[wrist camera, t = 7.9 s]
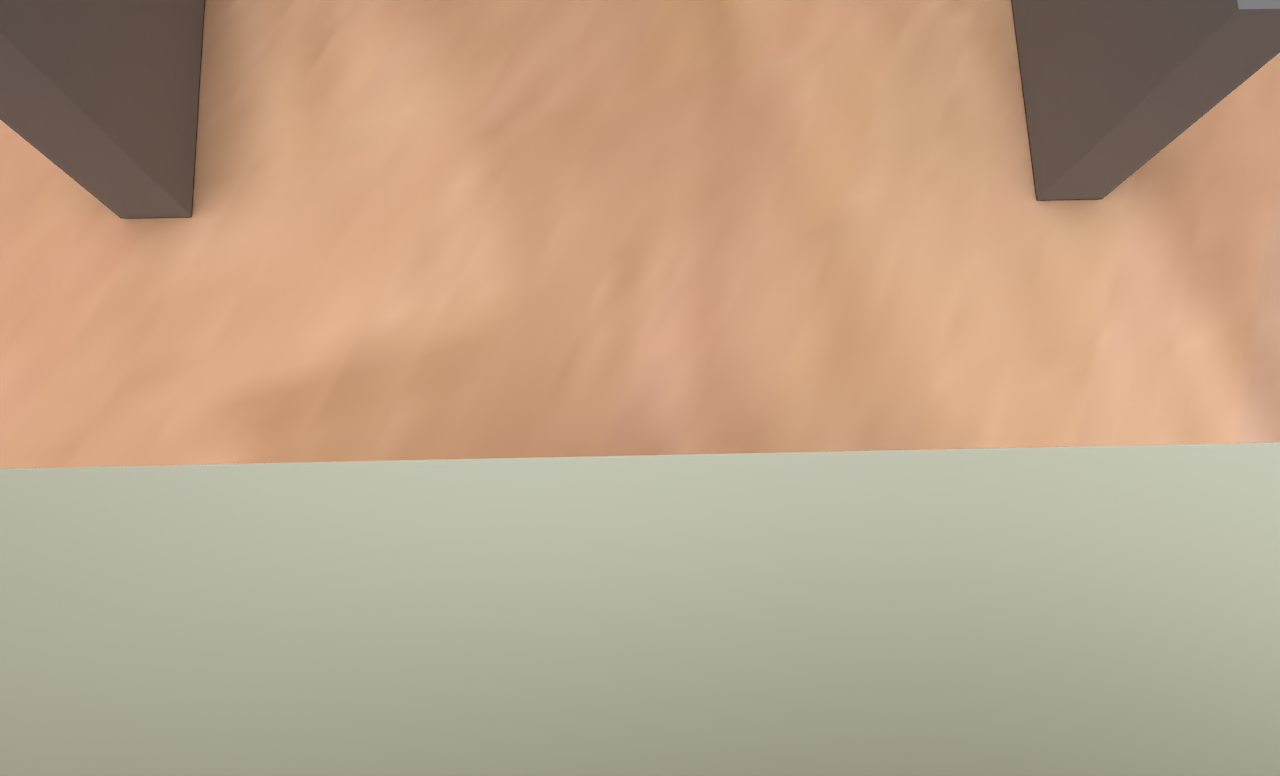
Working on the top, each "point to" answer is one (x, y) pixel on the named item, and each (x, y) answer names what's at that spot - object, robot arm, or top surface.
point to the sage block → (648, 615)
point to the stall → (1045, 29)
